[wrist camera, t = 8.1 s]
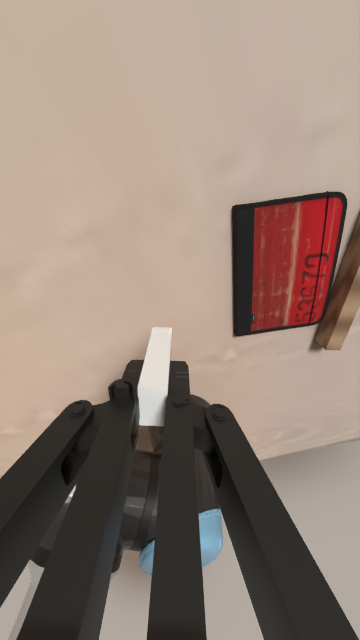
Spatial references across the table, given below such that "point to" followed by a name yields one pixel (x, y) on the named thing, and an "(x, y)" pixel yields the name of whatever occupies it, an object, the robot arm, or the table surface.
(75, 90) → the table surface
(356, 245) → the rail
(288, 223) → the binder
